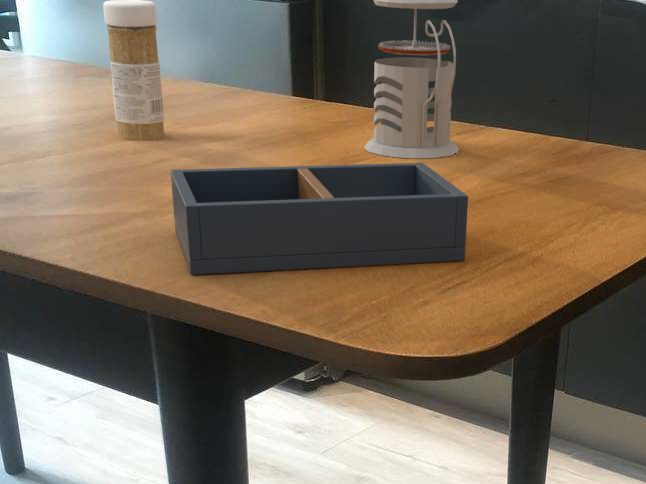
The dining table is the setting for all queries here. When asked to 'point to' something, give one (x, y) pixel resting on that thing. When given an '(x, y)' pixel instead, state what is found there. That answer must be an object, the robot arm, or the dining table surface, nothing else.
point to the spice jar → (135, 69)
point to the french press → (414, 92)
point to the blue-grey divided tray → (316, 217)
